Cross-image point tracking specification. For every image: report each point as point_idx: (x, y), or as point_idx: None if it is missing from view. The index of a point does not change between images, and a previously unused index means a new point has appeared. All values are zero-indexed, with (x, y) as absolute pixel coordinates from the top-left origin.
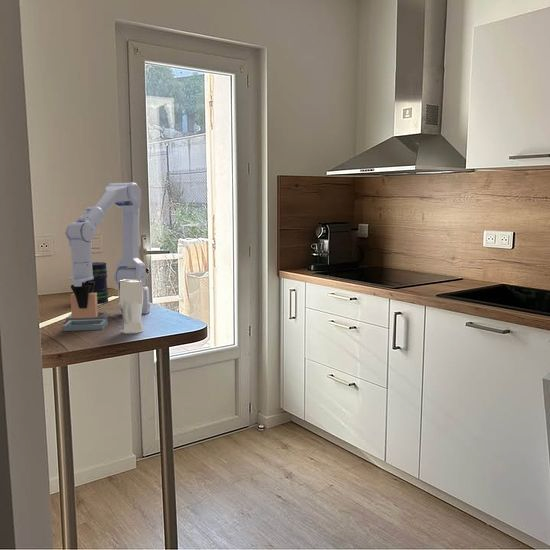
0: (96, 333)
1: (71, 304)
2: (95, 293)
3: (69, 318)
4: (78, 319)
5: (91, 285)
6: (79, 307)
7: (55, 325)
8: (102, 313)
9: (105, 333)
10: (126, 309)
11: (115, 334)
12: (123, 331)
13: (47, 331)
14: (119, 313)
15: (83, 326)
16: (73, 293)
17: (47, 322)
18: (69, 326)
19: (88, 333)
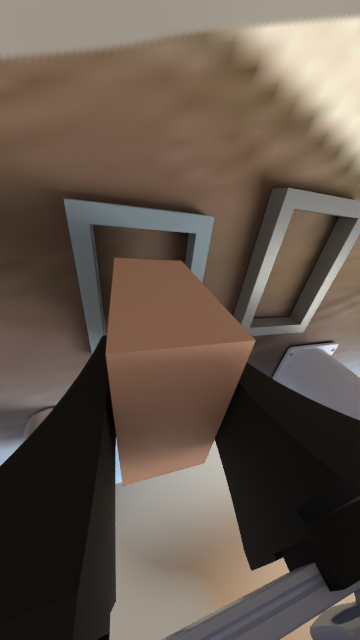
0: (25, 352)
1: (111, 298)
2: (165, 473)
3: (279, 206)
4: (261, 248)
5: (243, 522)
6: (99, 341)
7: (234, 125)
8: (300, 317)
9: (28, 376)
10: None
11: (15, 402)
12: (30, 420)
13: (62, 74)
14: (291, 350)
15: (84, 304)
16: (242, 347)
17: (342, 47)
18: (71, 241)
19: (22, 327)
